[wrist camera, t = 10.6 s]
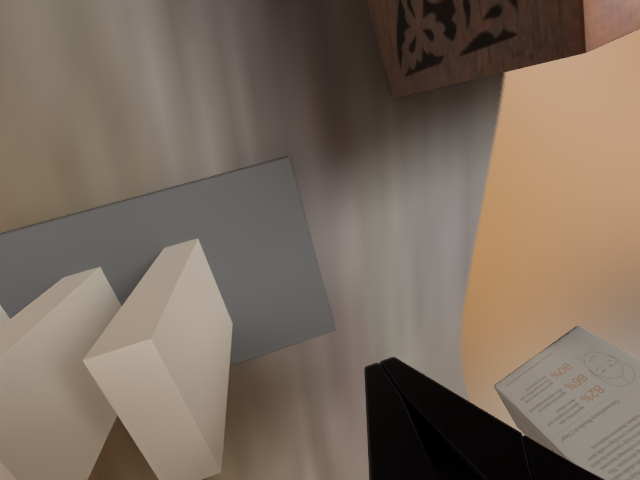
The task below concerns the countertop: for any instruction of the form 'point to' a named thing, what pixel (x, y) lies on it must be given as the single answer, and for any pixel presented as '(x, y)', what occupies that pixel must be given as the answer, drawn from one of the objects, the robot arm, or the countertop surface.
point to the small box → (580, 403)
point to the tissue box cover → (488, 36)
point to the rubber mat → (216, 241)
